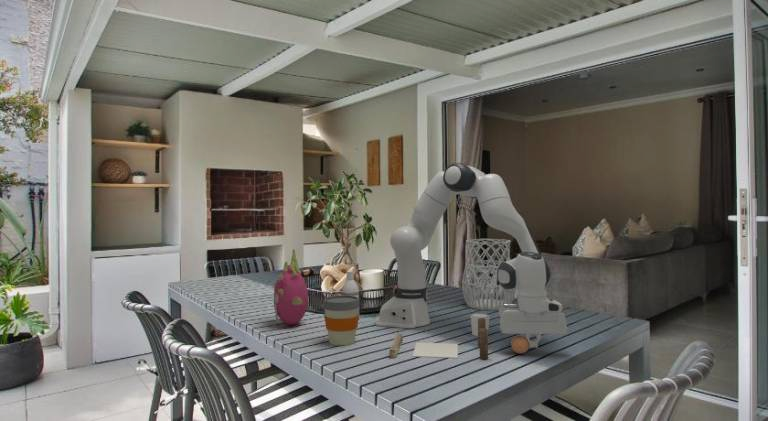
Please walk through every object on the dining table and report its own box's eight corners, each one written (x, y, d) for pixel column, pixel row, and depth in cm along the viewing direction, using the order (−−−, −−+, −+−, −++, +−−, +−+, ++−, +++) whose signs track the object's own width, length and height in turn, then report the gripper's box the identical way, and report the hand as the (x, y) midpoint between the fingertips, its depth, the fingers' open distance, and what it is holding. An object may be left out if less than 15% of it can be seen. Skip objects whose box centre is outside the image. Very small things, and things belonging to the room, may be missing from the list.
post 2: (479, 359, 145) (479, 330, 145) (479, 356, 148) (479, 328, 147) (488, 359, 145) (487, 330, 144) (487, 357, 147) (487, 328, 147)
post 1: (478, 346, 157) (478, 320, 157) (477, 344, 160) (477, 318, 160) (485, 347, 157) (485, 320, 157) (485, 344, 160) (485, 318, 159)
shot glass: (478, 338, 167) (478, 318, 167) (466, 333, 173) (466, 314, 173) (493, 335, 171) (493, 316, 170) (481, 330, 177) (481, 312, 176)
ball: (523, 359, 148) (508, 349, 148) (521, 353, 153) (507, 343, 154) (533, 345, 147) (518, 335, 147) (531, 339, 152) (516, 330, 153)
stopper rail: (389, 357, 148) (389, 349, 148) (397, 340, 166) (396, 333, 166) (395, 358, 148) (395, 350, 148) (402, 340, 165) (402, 333, 165)
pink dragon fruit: (268, 321, 194) (267, 248, 194) (300, 317, 201) (299, 246, 200) (280, 332, 179) (278, 253, 178) (314, 327, 185) (313, 250, 184)
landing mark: (412, 356, 149) (412, 355, 149) (416, 343, 163) (416, 342, 163) (457, 358, 147) (457, 357, 147) (457, 344, 160) (457, 343, 160)
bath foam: (340, 318, 199) (339, 270, 198) (355, 316, 202) (355, 269, 201) (345, 321, 192) (344, 272, 192) (361, 320, 195) (360, 271, 195)
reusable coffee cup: (341, 334, 175) (341, 293, 174) (367, 340, 167) (366, 298, 166) (316, 342, 165) (315, 299, 165) (342, 349, 157) (341, 304, 157)
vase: (452, 303, 224) (451, 239, 224) (493, 297, 235) (492, 237, 234) (483, 313, 202) (482, 243, 202) (527, 307, 213) (526, 240, 212)
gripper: (499, 305, 148) (500, 350, 148) (567, 305, 145) (568, 351, 145) (497, 301, 154) (498, 344, 154) (562, 301, 152) (564, 345, 152)
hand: (533, 347), depth 150 cm, fingers closed
